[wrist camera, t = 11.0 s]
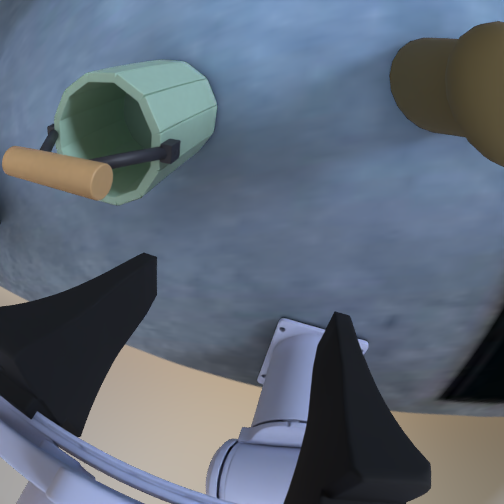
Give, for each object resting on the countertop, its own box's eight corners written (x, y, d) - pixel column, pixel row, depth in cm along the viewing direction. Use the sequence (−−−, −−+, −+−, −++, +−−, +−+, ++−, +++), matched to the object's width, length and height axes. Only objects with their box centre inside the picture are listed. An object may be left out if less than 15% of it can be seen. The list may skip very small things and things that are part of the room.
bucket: (218, 170, 21) (124, 274, 12) (117, 148, 22) (4, 223, 13) (234, 67, 16) (114, 94, 8) (120, 58, 17) (-18, 94, 9)
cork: (375, 105, 16) (425, 135, 7) (407, 20, 13) (483, -35, 4) (458, 150, 16) (555, 228, 7) (490, 70, 13) (608, 85, 3)
